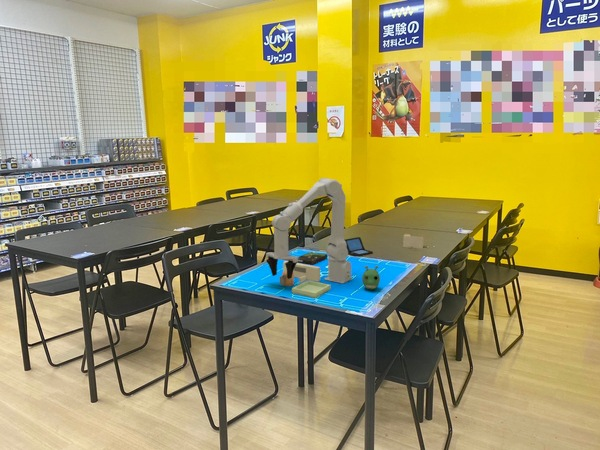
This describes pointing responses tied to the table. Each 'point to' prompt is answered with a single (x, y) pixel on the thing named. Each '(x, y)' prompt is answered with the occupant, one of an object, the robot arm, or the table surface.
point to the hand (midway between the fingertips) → (281, 276)
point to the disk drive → (311, 258)
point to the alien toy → (371, 278)
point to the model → (413, 241)
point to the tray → (311, 289)
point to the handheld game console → (356, 247)
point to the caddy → (286, 279)
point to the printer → (305, 272)
